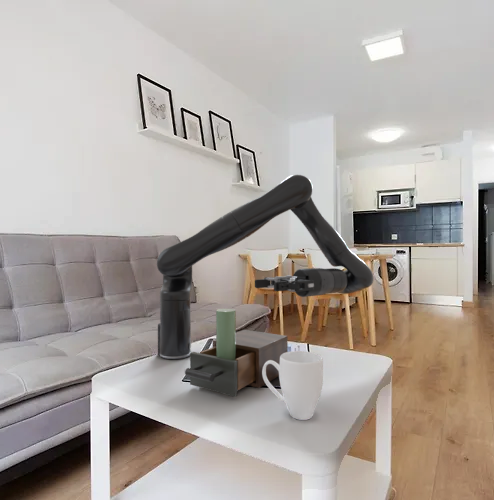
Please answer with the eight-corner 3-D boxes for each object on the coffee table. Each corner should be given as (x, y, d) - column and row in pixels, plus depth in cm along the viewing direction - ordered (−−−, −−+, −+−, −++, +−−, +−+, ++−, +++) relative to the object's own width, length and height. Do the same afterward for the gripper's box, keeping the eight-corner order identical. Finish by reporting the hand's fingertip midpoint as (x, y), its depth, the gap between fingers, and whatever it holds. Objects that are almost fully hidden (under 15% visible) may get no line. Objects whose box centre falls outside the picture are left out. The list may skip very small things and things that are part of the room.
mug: (325, 409, 73) (325, 353, 73) (319, 428, 66) (319, 365, 66) (268, 400, 78) (268, 347, 78) (256, 417, 70) (256, 358, 70)
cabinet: (259, 388, 85) (259, 348, 85) (212, 376, 92) (212, 340, 92) (287, 370, 97) (287, 335, 97) (244, 361, 105) (244, 329, 105)
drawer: (220, 404, 73) (220, 368, 73) (175, 391, 80) (175, 357, 80) (266, 378, 89) (266, 347, 89) (224, 368, 96) (224, 340, 96)
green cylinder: (212, 378, 85) (212, 310, 85) (224, 373, 89) (223, 307, 89) (228, 382, 82) (228, 312, 82) (239, 377, 86) (239, 309, 86)
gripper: (296, 267, 106) (249, 269, 97) (332, 269, 93) (282, 271, 85) (296, 293, 106) (249, 297, 97) (332, 298, 93) (282, 303, 85)
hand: (264, 285), depth 91 cm, fingers open, 8 cm apart
